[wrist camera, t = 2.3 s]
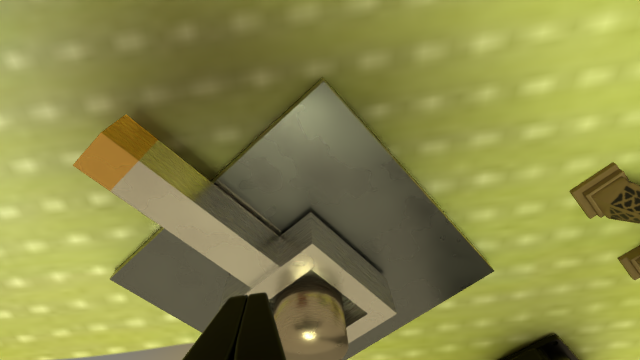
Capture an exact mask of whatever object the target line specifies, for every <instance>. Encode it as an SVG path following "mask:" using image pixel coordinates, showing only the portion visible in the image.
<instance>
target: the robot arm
mask: <svg viewBox="0 0 640 360" xmlns="http://www.w3.org/2000/svg"><path fill="white" fill-rule="evenodd" d="M183 360H286V356H285V353H284V350H283V346H282V343H281V339H280V336H279V333H278V329H277V326H276V322H275V319H274V316H273V312H272V309H271V305H270V302H269V299H268V295H267V293H265V292H261V293H254V294H250V295H249V296H248V295H238V296H232V297H230V298H229V299H228V300H227V301H226V302H225V304H224V305H223V306H222V308H221V309H220V310H219V312H218V313H217V314H216V316H215V317H214V318H213V320H212V321H211V322H210V324H209V325H208V326H207V328H206V329H205V330H204V332H203V333H202V334H201V336H200V337H199V338H198V340H197V341H196V342H195V344H194V345H193V346H192V348H191V349H190V350H189V352H188V353H187V354H186V356H185V357H184V358H183ZM503 360H579V359H578V358H577V357H576V356H575V355H574V354H573V352H572V351H571V350H570V349H569V348H568V347H567V346H566V344H565V343H564V342H563V341H562V340H561V339H560V338H559V337H558V336H557V335H551V336H548V337H546V338H545V339H543V340H541V341H539V342H537V343H535V344H533V345H531V346H529V347H527V348H525V349H523V350H521V351H519V352H517V353H515V354H513V355H511V356H509V357H507V358H505V359H503Z"/></svg>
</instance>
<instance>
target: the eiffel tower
mask: <svg viewBox="0 0 640 360" xmlns="http://www.w3.org/2000/svg"><path fill="white" fill-rule="evenodd" d="M570 193H571V194H572V195H573V197H574V198H575V200H576V201H577V202H578V204H579V205H580V207H581V208H582V209H583V211H584V212H585V213H586V215H587V216H588V217H589V218H590V219H591V218H593V217H594V216H596V215H598V216H599V217H603V216H606V217H607V218H609V219H615V220H621V221H627V222H634V223H640V186H639V185H637V184H635V183H633V182H631V181H629V180H628V178H627V176H626V175H625V173H624V171H622V170H620V169H619V168H618V166H617V165H616V164H615V163H611V164H610V165H608V166H607V167H605V168H603V169H602V170H600V171H599V172H597V173H596V174H594V175H593V176H591V177H590V178H588V179H587V180H585V181H584V182H582V183H581V184H579V185H578V186H576V187H575V188H573V189H572V190H570ZM618 259H619V261H620V262H621V264H622V265H623V266H624V268H625V269H626V271H627V272H628V273H629V275H630V276H631V277H632V279H634V280H636V279H638V278H640V245H639V246H638V247H636V248H634V249H632V250H631V251H629V252H627V253H626V254H624V255H622V256H620V257H619V258H618Z"/></svg>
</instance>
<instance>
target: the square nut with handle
mask: <svg viewBox="0 0 640 360" xmlns="http://www.w3.org/2000/svg"><path fill="white" fill-rule="evenodd" d="M73 166H74V167H76V168H77V169H79V170H80V171H82V172H83V173H85V174H86V175H87V176H89V177H90V178H92V179H93V180H95V181H96V182H98V183H99V184H101V185H102V186H103V187H105V188H106V189H108V190H109V191H111V192H112V193H114V194H115V195H117V196H118V197H119V198H121V199H122V200H124V201H125V202H127V203H128V204H130V205H131V206H133V207H134V208H135V209H137V210H138V211H140V212H141V213H143V214H144V215H146V216H147V217H149V218H150V219H152V220H153V221H154V222H156V223H157V224H159V225H160V226H162V227H163V228H165V229H166V230H168V231H169V232H170V233H172V234H173V235H175V236H176V237H178V238H179V239H181V240H182V241H184V242H185V243H186V244H188V245H189V246H191V247H192V248H194V249H195V250H197V251H198V252H200V253H201V254H202V255H204V256H205V257H207V258H208V259H210V260H211V261H213V262H214V263H216V264H217V265H218V266H220V267H221V268H223V269H224V270H226V271H227V272H229V273H230V274H232V275H230V276H229V277H228V278H227V279H226V283H225V287H224V291H223V295H222V299H221V303H220V307H219V310H220V309H221V308H222V306H223V305H224V304H225V302H226V301H227V300H228V299H229V298H230V297H232V296H238V295H248V296H249V295H250V294H254V293H261V292H265V293H267V295H268V299H269V302H270V305H271V309H272V312H274V300H275V295H276V294H278V293H279V292H280V291H282V290H283V289H285V288H286V287H287V286H289V285H290V284H291V283H293V282H294V281H296V280H297V279H298V278H300V277H301V276H302V275H304V274H305V273H307V272H308V271H309V270H313V271H314V272H315V273H316V274H318V275H319V276H320V277H322V278H323V279H324V280H325V281H327V282H328V283H329V284H330V285H332V286H333V287H334V288H336V289H337V290H338V291H339V292H341V293H342V300H343V308H344V315H345V322H346V330H347V337H348V344H349V343H350V342H352V341H353V340H355V339H357V338H358V337H360V336H362V335H363V334H365V333H366V332H368V331H370V330H371V329H373V328H375V327H376V326H378V325H379V324H381V323H383V322H384V321H386V320H388V319H389V318H391V317H392V316H394V315H396V314H397V312H396V309H395V305H394V302H393V298H392V295H391V292H390V288H389V285H388V282H387V278H386V277H384V276H383V275H382V274H381V273H380V272H379V271H378V270H376V269H375V268H374V267H373V266H372V265H371V264H370V263H368V262H367V261H366V260H365V259H364V258H363V257H362V256H360V255H359V254H358V253H357V252H356V251H355V250H354V249H352V248H351V247H350V246H349V245H348V244H347V243H346V242H344V241H343V240H342V239H341V238H340V237H339V236H338V235H337V234H335V233H334V232H333V231H332V230H331V229H330V228H329V227H327V226H326V225H325V224H324V223H323V222H322V221H321V220H319V219H318V218H317V217H316V216H315V215H314V214H313V213H311V212H310V213H309V214H307V215H306V216H305V217H304V218H302V219H301V220H300V221H299V222H297V223H296V224H295V225H294V226H292V227H291V228H290V229H289V230H287V231H286V232H285V233H283V234H282V235H281V236H278V235H277V234H276V233H275V232H273V231H272V230H271V229H270V228H268V227H267V226H266V225H264V224H263V223H262V222H261V221H259V220H258V219H257V218H256V217H254V216H253V215H252V214H251V213H249V212H248V211H247V210H246V209H244V208H243V207H242V206H241V205H239V204H238V203H237V202H236V201H234V200H233V199H232V198H231V197H229V196H228V195H227V194H226V193H224V192H223V191H222V190H221V189H219V188H218V187H217V186H216V185H214V184H213V183H212V182H211V181H209V180H208V179H207V178H206V177H204V176H203V175H202V174H200V173H199V172H198V171H197V170H195V169H194V168H193V167H192V166H190V165H189V164H188V163H187V162H185V161H184V160H183V159H182V158H180V157H179V156H178V155H177V154H175V153H174V152H173V151H172V150H170V149H169V148H168V147H167V146H165V145H164V144H163V143H162V142H160V141H159V140H158V139H157V138H155V137H154V136H153V135H152V134H150V133H149V132H148V131H147V130H145V129H144V128H143V127H142V126H140V125H139V124H138V123H137V122H135V121H134V120H133V119H131V118H130V117H129V116H128V115H124V116H123V117H121V118H120V119H119V120H117V121H116V122H115V123H113V124H112V125H111V126H109V127H108V128H106V129H105V130H104V131H102V132H101V133H100V134H99V135H98V137H97V138H96V139H95V140H94V141H93V142H92V143H91V145H90V146H89V147H88V148H87V149H86V150H85V152H84V153H83V154H82V155H81V156H80V157H79V159H78V160H77V161H76V162H75V163H74V164H73ZM218 312H219V311H218Z"/></svg>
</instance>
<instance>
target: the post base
mask: <svg viewBox="0 0 640 360" xmlns="http://www.w3.org/2000/svg"><path fill="white" fill-rule="evenodd" d="M211 182H212V183H213V184H214V185H216V186H217V187H218V188H219V189H221V190H222V191H223V192H224V193H226V194H227V195H228V196H229V197H231V198H232V199H233V200H234V201H236V202H237V203H238V204H239V205H241V206H242V207H243V208H244V209H246V210H247V211H248V212H249V213H251V214H252V215H253V216H254V217H256V218H257V219H258V220H259V221H261V222H262V223H263V224H264V225H266V226H267V227H268V228H270V229H271V230H272V231H273V232H275V233H276V234H277V235H278V236H281V235H282V234H283V233H285V232H286V231H287V230H289V229H290V228H291V227H292V226H294V225H295V224H296V223H297V222H299V221H300V220H301V219H302V218H304V217H305V216H306V215H307V214H309V213H310V212H311V213H313V214H314V215H315V216H316V217H317V218H318V219H319V220H321V221H322V222H323V223H324V224H325V225H326V226H327V227H329V228H330V229H331V230H332V231H333V232H334V233H335V234H337V235H338V236H339V237H340V238H341V239H342V240H343V241H344V242H346V243H347V244H348V245H349V246H350V247H351V248H352V249H354V250H355V251H356V252H357V253H358V254H359V255H360V256H362V257H363V258H364V259H365V260H366V261H367V262H368V263H370V264H371V265H372V266H373V267H374V268H375V269H376V270H378V271H379V272H380V273H381V274H382V275H383V276H384V277H386V278H387V282H388V285H389V288H390V292H391V295H392V298H393V302H394V305H395V309H396V312H397V314H396V315H394V316H392V317H391V318H389V319H388V320H386V321H384V322H383V323H381V324H379V325H378V326H376V327H375V328H373V329H371V330H370V331H368V332H366V333H365V334H363V335H362V336H360V337H358V338H357V339H355V340H353V341H352V342H350V343H349V344H348V337H347V330H346V322H345V315H344V308H343V300H342V293H341V292H339V291H338V290H337V289H336V288H334V287H333V286H332V285H330V284H329V283H328V282H327V281H325V280H324V279H323V278H322V277H320V276H319V275H318V274H316V273H315V272H314V271H313V270H309V271H308V272H307V273H305V274H304V275H302V276H301V277H300V278H298V279H297V280H296V281H294V282H293V283H291V284H290V285H289V286H287V287H286V288H285V289H283V290H282V291H280V292H279V293H278V294H276V295H275V300H274V312H273V316H274V319H275V322H276V326H277V329H278V333H279V336H280V339H281V343H282V346H283V350H284V353H285V356H286V360H347V359H348V358H350V357H352V356H353V355H355V354H357V353H358V352H360V351H362V350H363V349H365V348H367V347H368V346H370V345H372V344H373V343H375V342H377V341H378V340H380V339H382V338H383V337H385V336H387V335H388V334H390V333H392V332H393V331H395V330H397V329H398V328H400V327H402V326H403V325H405V324H407V323H408V322H410V321H412V320H413V319H415V318H417V317H418V316H420V315H422V314H424V313H425V312H427V311H429V310H430V309H432V308H434V307H435V306H437V305H439V304H440V303H442V302H444V301H445V300H447V299H449V298H450V297H452V296H454V295H455V294H457V293H459V292H460V291H462V290H464V289H465V288H467V287H469V286H470V285H472V284H474V283H475V282H477V281H479V280H480V279H482V278H484V277H485V276H487V275H489V274H490V273H492V272H494V270H493V268H492V267H491V266H490V264H489V263H488V262H487V260H486V259H485V258H484V257H483V256H482V255H481V254H480V253H479V251H478V250H477V249H476V248H475V247H474V246H473V245H472V244H471V243H470V241H469V240H468V239H467V238H466V237H465V236H464V235H463V234H462V232H461V231H460V230H459V229H458V228H457V227H456V226H455V225H454V224H453V222H452V221H451V220H450V219H449V218H448V217H447V216H446V215H445V213H444V212H443V211H442V210H441V209H440V208H439V207H438V206H437V205H436V203H435V202H434V201H433V200H432V199H431V198H430V197H429V196H428V194H427V193H426V192H425V191H424V190H423V189H422V188H421V187H420V185H419V184H418V183H417V182H416V181H415V180H414V179H413V178H412V177H411V175H410V174H409V173H408V172H407V171H406V170H405V169H404V168H403V166H402V165H401V164H400V163H399V162H398V161H397V160H396V159H395V158H394V156H393V155H392V154H391V153H390V152H389V151H388V150H387V149H386V147H385V146H384V145H383V144H382V143H381V142H380V141H379V140H378V139H377V137H376V136H375V135H374V134H373V133H372V132H371V131H370V130H369V128H368V127H367V126H366V125H365V124H364V123H363V122H362V121H361V120H360V118H359V117H358V116H357V115H356V114H355V113H354V112H353V111H352V109H351V108H350V107H349V106H348V105H347V104H346V103H345V102H344V101H343V99H342V98H341V97H340V96H339V95H338V94H337V93H336V92H335V90H334V89H333V88H332V87H331V86H330V85H329V84H328V83H327V81H326V80H325V79H324V78H323V77H322V78H321V79H320V80H319V81H318V82H317V83H316V84H315V85H314V86H313V87H312V88H311V89H309V90H308V91H307V92H306V93H305V94H304V95H303V96H302V97H301V98H300V99H299V100H298V101H297V102H296V103H294V104H293V105H292V106H291V107H290V108H289V109H288V110H287V111H286V112H285V113H284V114H283V115H282V116H280V117H279V118H278V119H277V120H276V121H275V122H274V123H273V124H272V125H271V126H270V127H269V128H268V129H267V130H265V131H264V132H263V133H262V134H261V135H260V136H259V137H258V138H257V139H256V140H255V141H254V142H253V143H251V144H250V145H249V146H248V147H247V148H246V149H245V150H244V151H243V152H242V153H241V154H240V155H239V156H238V157H236V158H235V159H234V160H233V161H232V162H231V163H230V164H229V165H228V166H227V167H226V168H225V169H224V170H223V171H221V172H220V173H219V174H218V175H217V176H216V177H215V178H214V179H213V180H212V181H211ZM230 275H232V274H230V273H229V272H227V271H226V270H224V269H223V268H221V267H220V266H218V265H217V264H216V263H214V262H213V261H211V260H210V259H208V258H207V257H205V256H204V255H202V254H201V253H200V252H198V251H197V250H195V249H194V248H192V247H191V246H189V245H188V244H186V243H185V242H184V241H182V240H181V239H179V238H178V237H176V236H175V235H173V234H172V233H170V232H169V231H168V230H166V229H165V228H163V227H161V228H160V229H159V230H158V231H157V232H156V233H155V234H154V235H153V236H152V237H151V238H150V239H148V240H147V241H146V242H145V243H144V244H143V245H142V246H141V247H140V248H139V249H138V250H137V251H136V252H134V253H133V254H132V255H131V256H130V257H129V258H128V259H127V260H126V261H125V262H124V263H123V264H122V265H121V266H119V267H118V268H117V269H116V270H115V272H114V273H113V275H112V276H111V278H110V280H112V281H114V282H115V283H117V284H119V285H121V286H122V287H124V288H126V289H127V290H129V291H131V292H133V293H134V294H136V295H138V296H140V297H141V298H143V299H145V300H146V301H148V302H150V303H152V304H153V305H155V306H157V307H159V308H160V309H162V310H164V311H165V312H167V313H169V314H171V315H172V316H174V317H176V318H178V319H179V320H181V321H183V322H184V323H186V324H188V325H190V326H191V327H193V328H195V329H197V330H198V331H200V332H202V333H203V332H204V330H205V329H206V328H207V326H208V325H209V324H210V322H211V321H212V320H213V318H214V317H215V316H216V314H217V313H218V311H219V307H220V303H221V299H222V295H223V291H224V287H225V283H226V279H227V278H228V277H229V276H230Z"/></svg>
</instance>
